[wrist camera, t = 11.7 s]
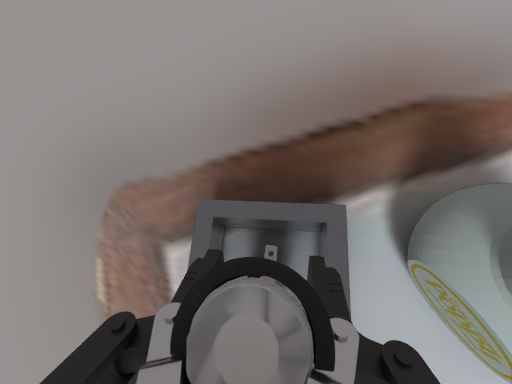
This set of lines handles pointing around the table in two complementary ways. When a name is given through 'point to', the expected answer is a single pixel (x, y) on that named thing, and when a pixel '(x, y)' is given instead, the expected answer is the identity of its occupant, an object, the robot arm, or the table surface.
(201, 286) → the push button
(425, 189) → the table surface
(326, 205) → the square socket
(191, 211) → the table surface
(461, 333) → the air freshener
